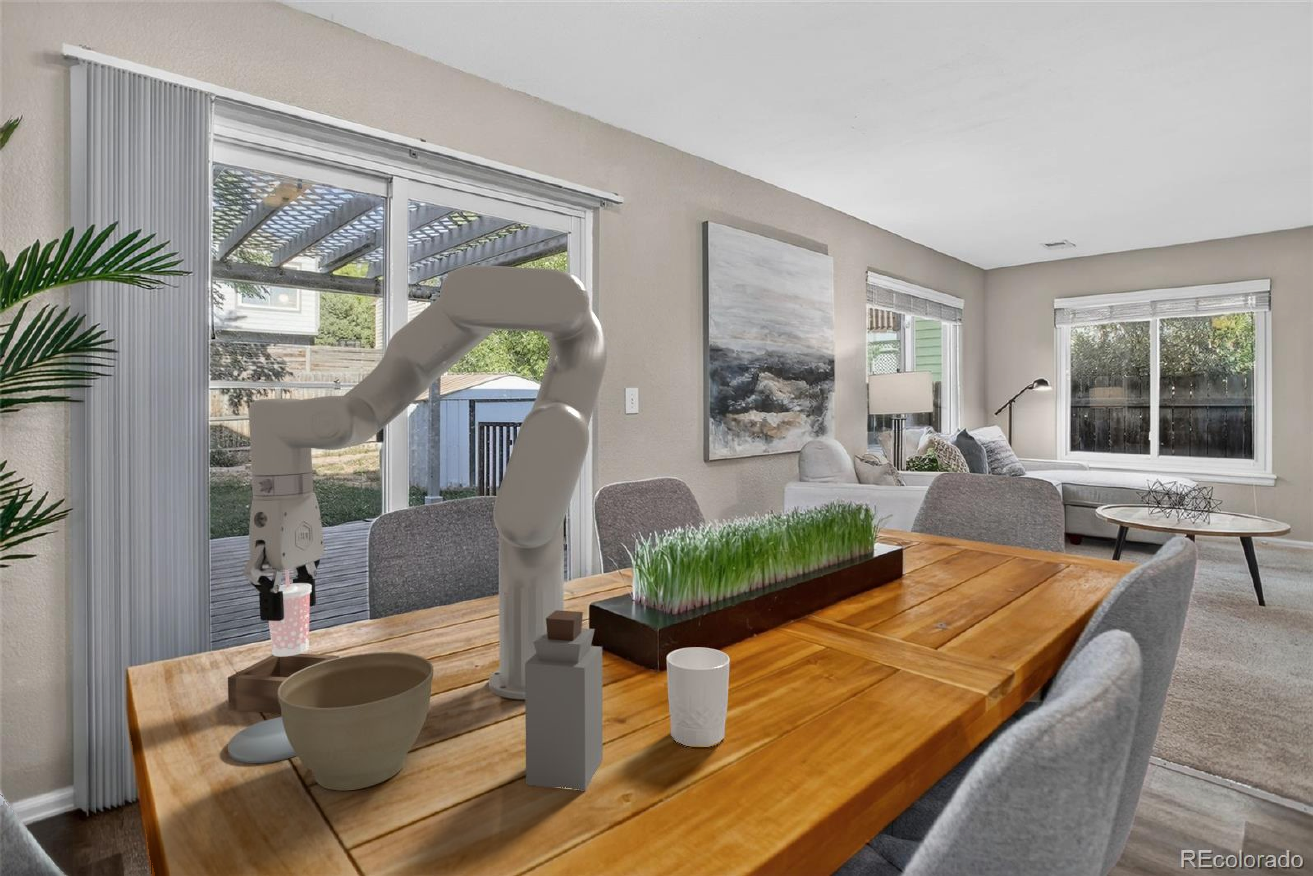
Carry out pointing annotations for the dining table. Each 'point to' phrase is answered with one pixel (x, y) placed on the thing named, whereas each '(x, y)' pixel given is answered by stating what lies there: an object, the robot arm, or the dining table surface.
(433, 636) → the dining table surface
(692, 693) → the white cup
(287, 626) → the beverage cup
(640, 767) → the dining table surface
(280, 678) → the square wooden frame
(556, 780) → the perfume bottle
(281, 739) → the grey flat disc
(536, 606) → the robot arm
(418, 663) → the planter bowl
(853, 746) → the dining table surface
